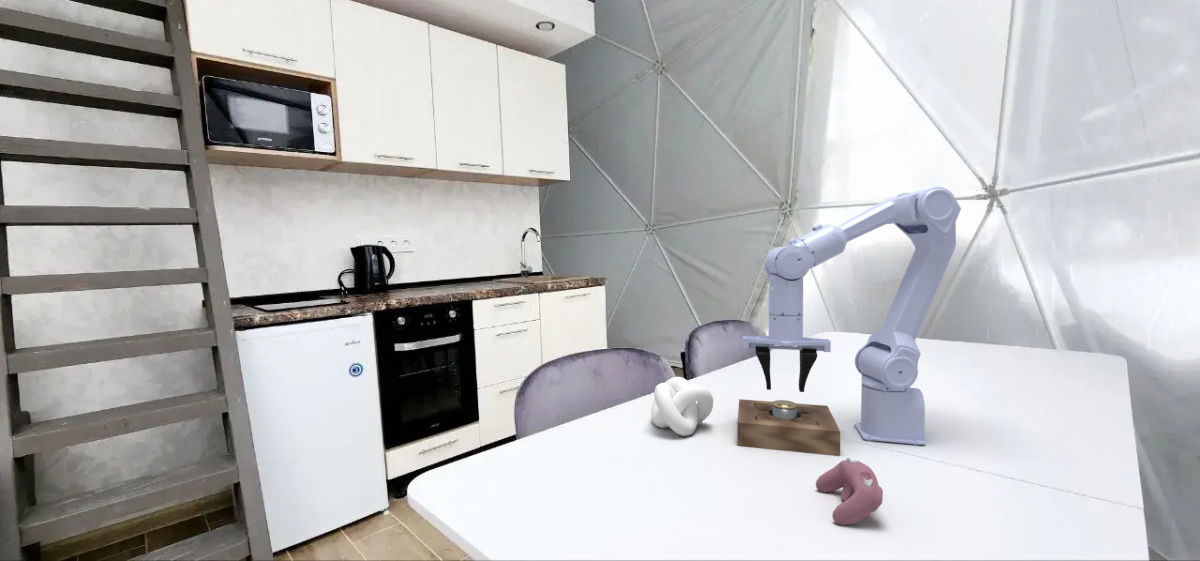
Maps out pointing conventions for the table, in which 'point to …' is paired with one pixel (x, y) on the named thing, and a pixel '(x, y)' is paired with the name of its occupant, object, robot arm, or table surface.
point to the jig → (788, 428)
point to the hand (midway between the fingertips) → (784, 389)
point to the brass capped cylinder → (784, 409)
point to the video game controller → (852, 490)
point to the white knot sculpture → (680, 405)
